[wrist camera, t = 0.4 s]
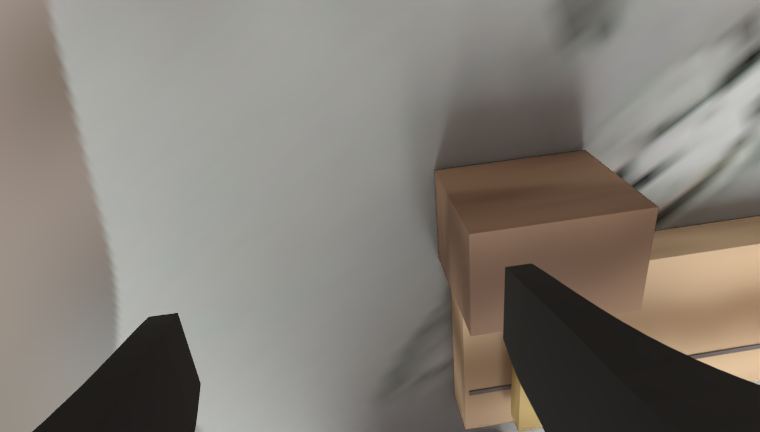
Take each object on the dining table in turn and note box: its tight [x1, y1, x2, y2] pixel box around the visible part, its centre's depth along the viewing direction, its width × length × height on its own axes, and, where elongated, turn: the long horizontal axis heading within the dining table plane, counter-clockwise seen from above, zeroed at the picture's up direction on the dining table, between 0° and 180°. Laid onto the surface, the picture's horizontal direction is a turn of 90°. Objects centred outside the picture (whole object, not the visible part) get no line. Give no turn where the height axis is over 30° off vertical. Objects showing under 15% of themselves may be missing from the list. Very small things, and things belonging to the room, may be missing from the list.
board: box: [451, 216, 760, 429], centre depth 25 cm, size 8×21×2 cm, turn 95°
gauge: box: [434, 150, 659, 432], centre depth 21 cm, size 11×6×5 cm, turn 5°
